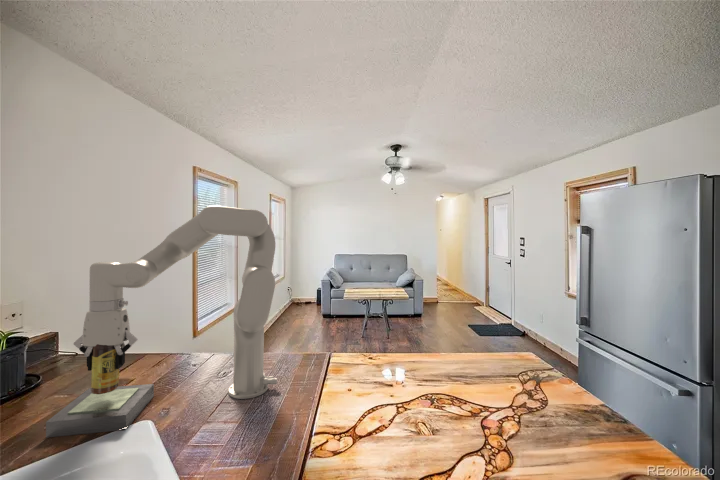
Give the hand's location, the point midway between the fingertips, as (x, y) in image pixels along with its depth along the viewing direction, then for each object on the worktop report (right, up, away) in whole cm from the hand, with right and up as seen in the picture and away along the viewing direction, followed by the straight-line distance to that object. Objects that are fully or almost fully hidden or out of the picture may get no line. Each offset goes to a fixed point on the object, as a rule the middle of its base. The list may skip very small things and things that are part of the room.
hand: (106, 367), depth 93 cm
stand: (0, -14, 0) cm, 14 cm away
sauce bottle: (0, -7, 0) cm, 7 cm away
